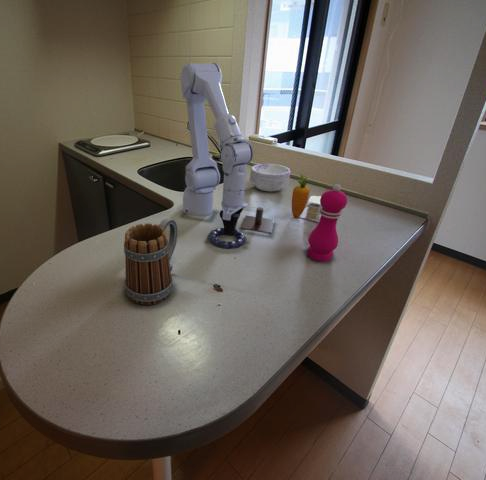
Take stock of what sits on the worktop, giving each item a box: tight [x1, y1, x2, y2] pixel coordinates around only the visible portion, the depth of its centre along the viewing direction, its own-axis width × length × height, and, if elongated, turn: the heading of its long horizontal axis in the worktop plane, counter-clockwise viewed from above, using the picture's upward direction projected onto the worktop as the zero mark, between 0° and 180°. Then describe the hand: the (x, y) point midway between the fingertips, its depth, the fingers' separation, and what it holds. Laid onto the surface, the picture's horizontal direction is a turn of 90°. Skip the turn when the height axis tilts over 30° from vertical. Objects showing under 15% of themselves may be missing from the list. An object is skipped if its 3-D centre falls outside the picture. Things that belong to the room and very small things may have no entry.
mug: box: [123, 217, 179, 306], centre depth 69 cm, size 16×11×15 cm
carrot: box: [291, 173, 311, 220], centre depth 99 cm, size 5×5×15 cm
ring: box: [207, 227, 247, 250], centre depth 89 cm, size 11×11×2 cm
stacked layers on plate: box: [299, 195, 322, 223], centre depth 105 cm, size 10×9×6 cm
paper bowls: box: [249, 163, 291, 192], centre depth 125 cm, size 15×15×8 cm
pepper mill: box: [306, 183, 348, 263], centre depth 80 cm, size 7×7×20 cm
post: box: [240, 206, 275, 234], centre depth 96 cm, size 9×9×6 cm
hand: (229, 231), depth 92 cm, fingers closed on ring, 2 cm apart
